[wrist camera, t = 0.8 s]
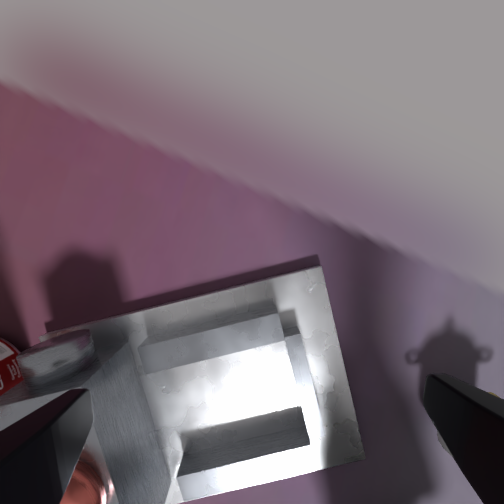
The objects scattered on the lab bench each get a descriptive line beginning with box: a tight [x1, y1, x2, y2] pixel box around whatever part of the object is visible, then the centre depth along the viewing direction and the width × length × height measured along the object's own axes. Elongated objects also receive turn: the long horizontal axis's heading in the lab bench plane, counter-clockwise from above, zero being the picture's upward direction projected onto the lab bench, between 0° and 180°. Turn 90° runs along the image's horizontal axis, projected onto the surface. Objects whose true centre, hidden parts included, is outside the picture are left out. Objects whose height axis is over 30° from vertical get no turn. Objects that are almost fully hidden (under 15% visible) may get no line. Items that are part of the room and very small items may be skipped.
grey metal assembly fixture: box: [0, 265, 366, 504], centre depth 18 cm, size 16×22×8 cm
